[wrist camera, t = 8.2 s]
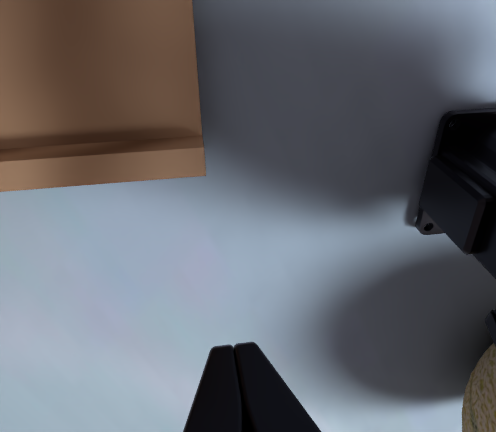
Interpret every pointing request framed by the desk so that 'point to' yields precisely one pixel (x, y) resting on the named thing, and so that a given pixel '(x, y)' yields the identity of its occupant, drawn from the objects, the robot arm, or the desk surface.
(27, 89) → the channel
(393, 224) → the desk surface
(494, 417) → the cantaloupe
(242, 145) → the desk surface
